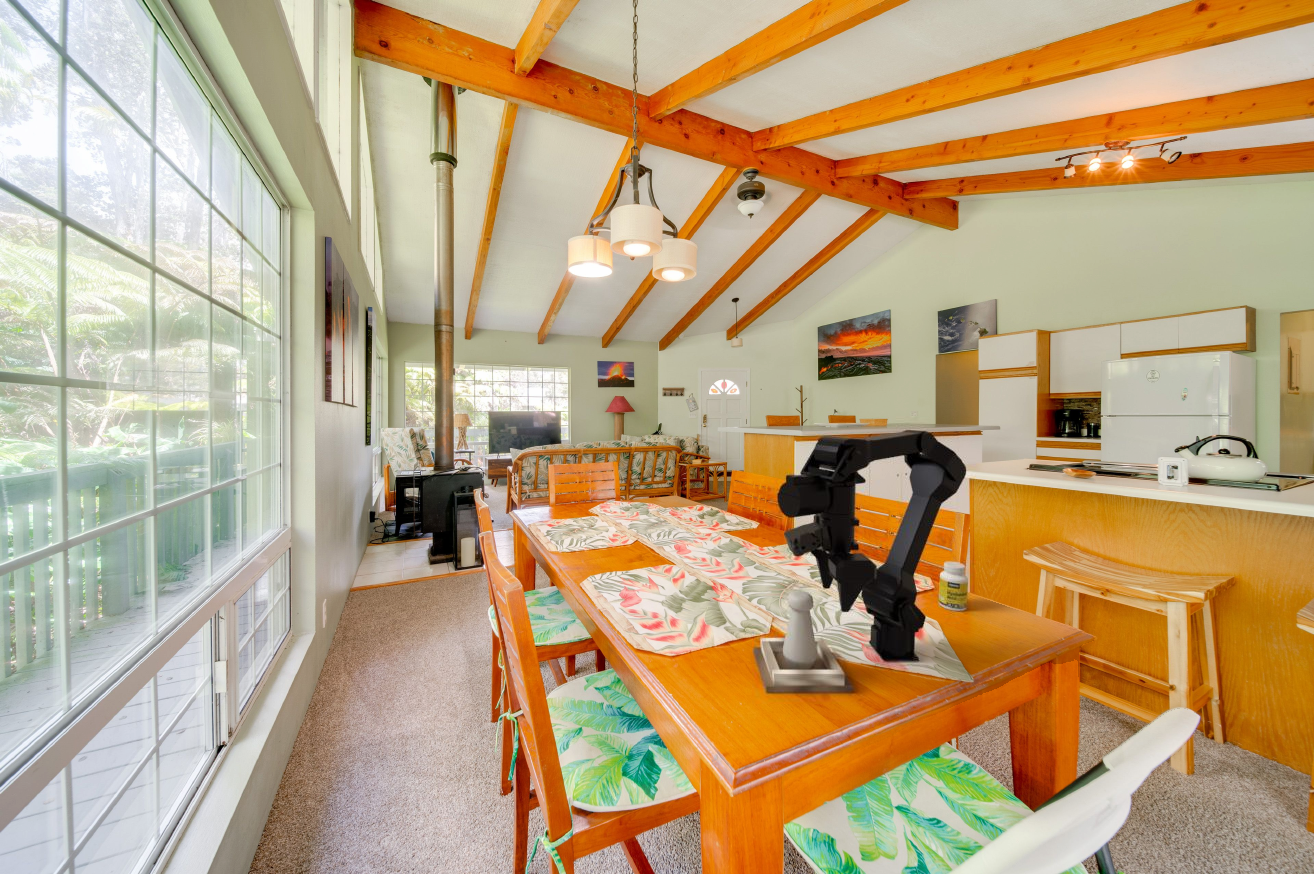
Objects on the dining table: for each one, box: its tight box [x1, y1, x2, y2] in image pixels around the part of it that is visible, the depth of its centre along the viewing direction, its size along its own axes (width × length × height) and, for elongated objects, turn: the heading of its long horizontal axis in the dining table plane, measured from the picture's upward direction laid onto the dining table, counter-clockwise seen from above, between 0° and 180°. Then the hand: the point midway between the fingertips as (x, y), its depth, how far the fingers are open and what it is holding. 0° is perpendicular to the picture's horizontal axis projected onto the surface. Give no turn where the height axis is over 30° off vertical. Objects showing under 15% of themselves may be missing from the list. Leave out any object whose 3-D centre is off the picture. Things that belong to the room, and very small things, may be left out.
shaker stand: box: [752, 637, 854, 694], centre depth 82 cm, size 14×12×3 cm
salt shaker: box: [783, 590, 817, 670], centre depth 82 cm, size 6×6×13 cm
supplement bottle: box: [938, 561, 969, 612], centre depth 106 cm, size 5×5×10 cm
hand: (835, 599), depth 81 cm, fingers open, 9 cm apart
